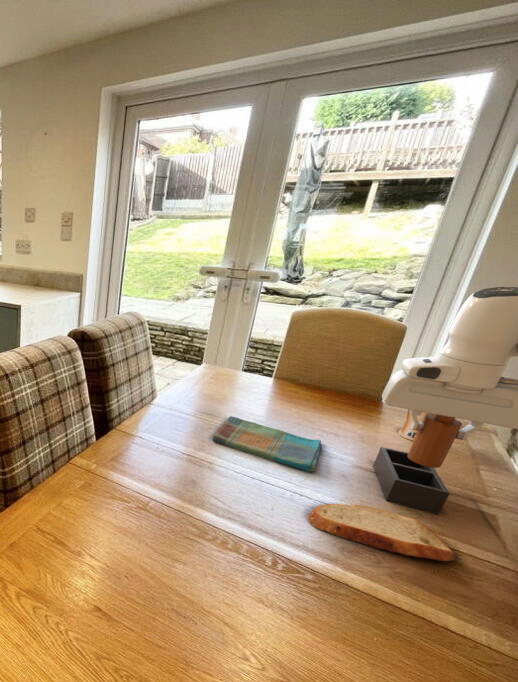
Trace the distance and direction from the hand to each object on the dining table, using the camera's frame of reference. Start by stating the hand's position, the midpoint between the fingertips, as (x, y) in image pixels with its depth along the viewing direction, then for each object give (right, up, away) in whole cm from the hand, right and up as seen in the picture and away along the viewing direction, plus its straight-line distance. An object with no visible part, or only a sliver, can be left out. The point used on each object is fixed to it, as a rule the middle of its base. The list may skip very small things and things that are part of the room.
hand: (436, 433), depth 82 cm
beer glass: (+27, -5, +31) cm, 41 cm away
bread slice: (-17, -20, -5) cm, 26 cm away
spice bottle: (0, -6, +2) cm, 7 cm away
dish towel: (-18, -7, +26) cm, 33 cm away
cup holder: (+2, -14, +9) cm, 17 cm away
